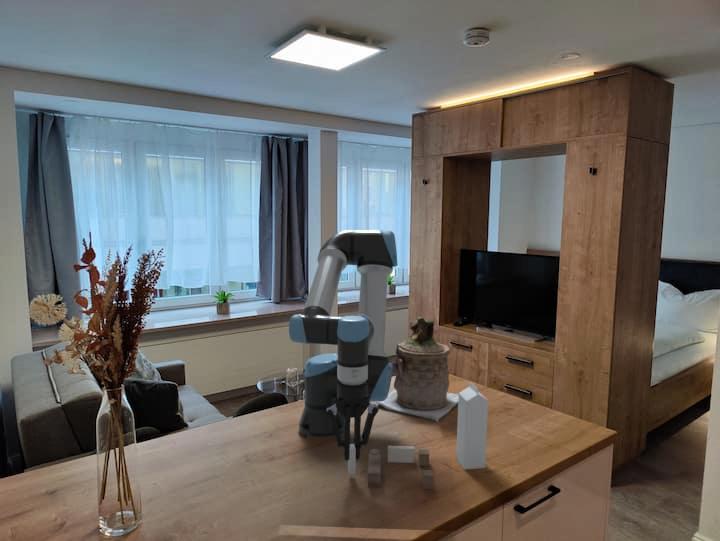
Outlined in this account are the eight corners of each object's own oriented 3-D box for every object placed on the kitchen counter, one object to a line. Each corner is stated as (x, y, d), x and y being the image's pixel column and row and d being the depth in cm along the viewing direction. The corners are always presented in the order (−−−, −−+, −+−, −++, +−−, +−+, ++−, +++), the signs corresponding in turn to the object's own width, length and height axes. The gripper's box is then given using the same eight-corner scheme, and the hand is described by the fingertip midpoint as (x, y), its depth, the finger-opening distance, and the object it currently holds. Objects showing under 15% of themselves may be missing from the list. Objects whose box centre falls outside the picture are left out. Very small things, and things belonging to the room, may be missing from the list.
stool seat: (363, 494, 116) (363, 474, 115) (365, 462, 131) (365, 444, 130) (435, 497, 115) (435, 476, 114) (428, 464, 130) (429, 446, 129)
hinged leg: (368, 462, 128) (369, 448, 128) (380, 462, 128) (380, 449, 128) (368, 487, 116) (368, 472, 116) (380, 487, 116) (380, 472, 116)
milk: (476, 457, 134) (480, 380, 132) (485, 468, 129) (489, 388, 126) (455, 458, 134) (458, 381, 131) (463, 470, 128) (467, 389, 125)
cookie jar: (465, 399, 176) (468, 313, 172) (438, 424, 155) (442, 326, 152) (404, 386, 189) (406, 305, 185) (372, 407, 168) (374, 317, 165)
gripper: (327, 386, 113) (326, 481, 116) (381, 384, 115) (380, 477, 118) (324, 376, 121) (324, 465, 123) (376, 374, 123) (374, 462, 125)
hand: (351, 471), depth 121 cm, fingers closed
